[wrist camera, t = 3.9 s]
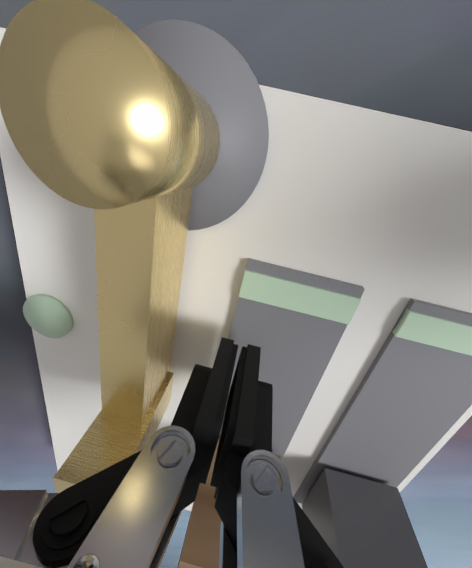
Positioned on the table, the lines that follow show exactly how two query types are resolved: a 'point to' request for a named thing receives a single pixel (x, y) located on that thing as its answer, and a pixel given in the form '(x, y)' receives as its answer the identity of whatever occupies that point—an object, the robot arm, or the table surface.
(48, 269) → the panel
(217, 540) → the walnut slider
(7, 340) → the table surface
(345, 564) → the gray slider
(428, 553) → the table surface
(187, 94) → the brass lever
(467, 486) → the table surface
